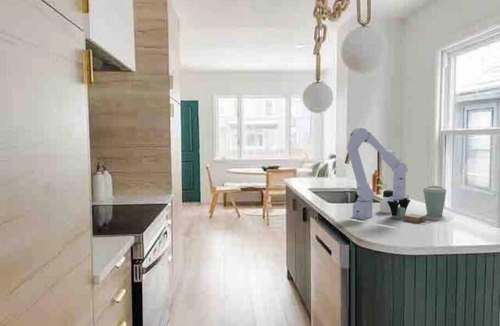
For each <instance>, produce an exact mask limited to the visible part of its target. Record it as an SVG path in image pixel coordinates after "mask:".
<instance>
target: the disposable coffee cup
mask: <svg viewBox="0 0 500 326" xmlns="http://www.w3.org/2000/svg"><path fill="white" fill-rule="evenodd" d="M422 192H423V195H424V197H423V198H424V202H425V209H426V214H427V216H433V217H442V216H443V212H444V207H445V200H446V195H447V188H446V187H444V186H441V185H427V186H424V187H423V190H422Z"/></svg>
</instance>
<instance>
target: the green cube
mask: <svg viewBox="0 0 500 326" xmlns="http://www.w3.org/2000/svg"><path fill="white" fill-rule="evenodd" d="M405 209H406V208H404V207H400V206H398V210H397V216H392V215H391V216H392V217H397V218H403V217H404V215H406V213H405ZM406 210H407V209H406Z"/></svg>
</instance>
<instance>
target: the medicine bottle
mask: <svg viewBox="0 0 500 326" xmlns="http://www.w3.org/2000/svg"><path fill="white" fill-rule="evenodd" d="M391 196H393V189H390V190H389V189H388V190H386V189H385V190H384V191H383V192H382V199H380V200H379V212H380V213H387V214H392V213H391V209H390V206H389V204H388V203H387V201H389V197H391ZM397 202H399V201H398V200H397Z"/></svg>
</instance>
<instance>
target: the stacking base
mask: <svg viewBox="0 0 500 326" xmlns="http://www.w3.org/2000/svg"><path fill="white" fill-rule="evenodd" d="M385 219H387V220H392V221H398V222H399V221H400V222H405V223H409V224H416V225H421V226H425V225H429V224H432V223H433V224H434V223H435V222H438V220H437V219H430V218H427V216H426V215H424V214H418V213H417V214H416V213H409V214H405V215H404V217H403V218H397V217H392V215H391V216H390V215H389V216H386V217H385Z"/></svg>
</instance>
